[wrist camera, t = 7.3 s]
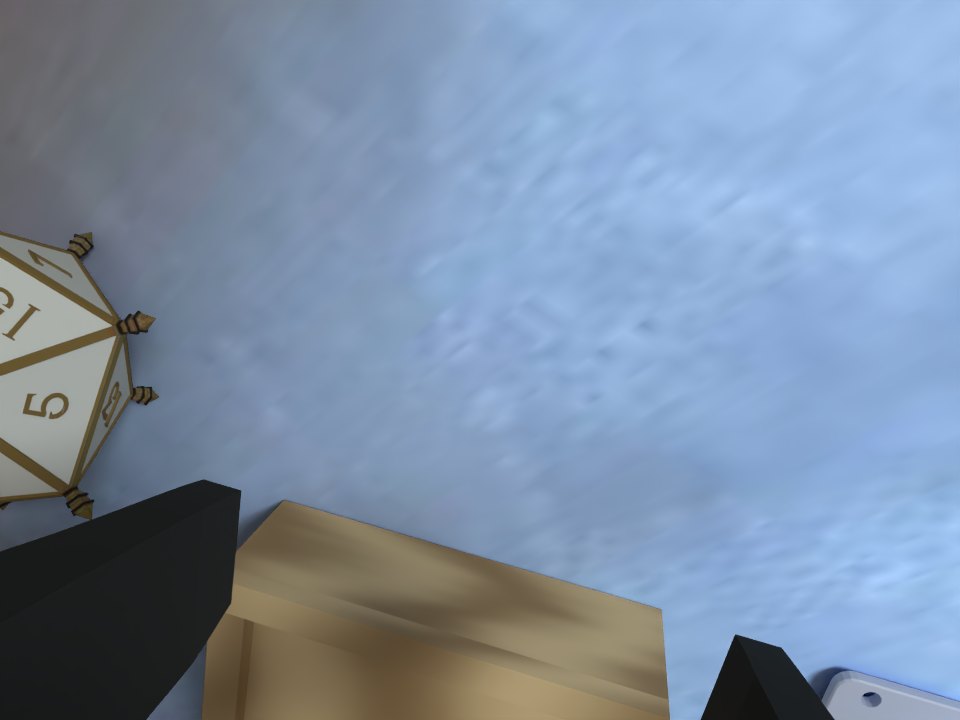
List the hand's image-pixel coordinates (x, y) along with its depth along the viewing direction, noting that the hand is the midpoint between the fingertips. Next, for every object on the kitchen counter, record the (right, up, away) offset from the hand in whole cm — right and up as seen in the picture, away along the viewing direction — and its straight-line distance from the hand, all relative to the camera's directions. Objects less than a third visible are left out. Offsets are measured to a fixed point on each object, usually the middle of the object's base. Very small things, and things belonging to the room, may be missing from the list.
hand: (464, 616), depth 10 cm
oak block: (-1, -8, +13) cm, 16 cm away
